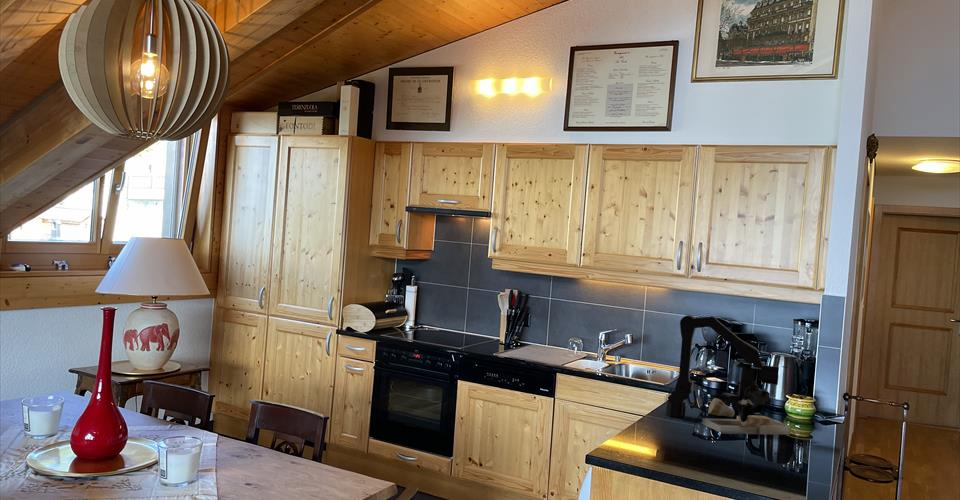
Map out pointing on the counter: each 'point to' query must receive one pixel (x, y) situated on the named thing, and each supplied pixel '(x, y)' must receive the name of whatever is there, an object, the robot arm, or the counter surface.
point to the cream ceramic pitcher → (720, 408)
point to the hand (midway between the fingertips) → (743, 421)
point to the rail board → (746, 427)
